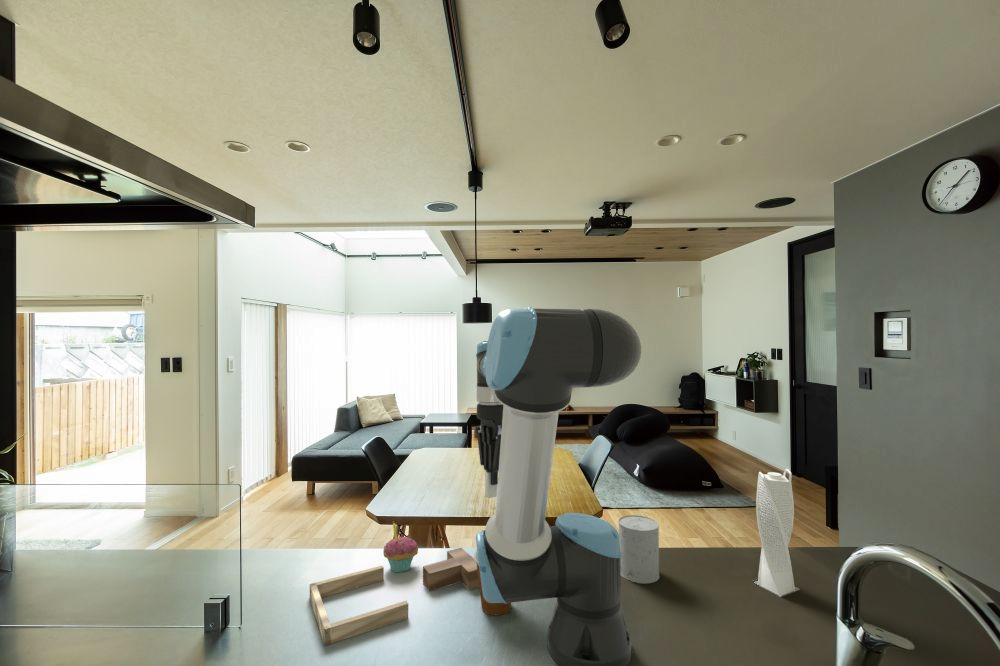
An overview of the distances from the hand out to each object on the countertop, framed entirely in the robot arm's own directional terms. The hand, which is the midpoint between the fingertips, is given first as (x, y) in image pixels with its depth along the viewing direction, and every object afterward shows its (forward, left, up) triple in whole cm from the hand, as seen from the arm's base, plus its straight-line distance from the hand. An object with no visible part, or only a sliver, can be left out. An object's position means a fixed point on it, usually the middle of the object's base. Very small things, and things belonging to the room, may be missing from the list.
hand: (491, 496), depth 113 cm
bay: (0, +33, -18) cm, 37 cm away
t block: (0, +12, -18) cm, 21 cm away
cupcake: (+12, +20, -18) cm, 29 cm away
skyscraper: (-42, -51, -18) cm, 69 cm away
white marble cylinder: (-21, -29, -18) cm, 40 cm away
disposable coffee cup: (-15, +8, -18) cm, 25 cm away
